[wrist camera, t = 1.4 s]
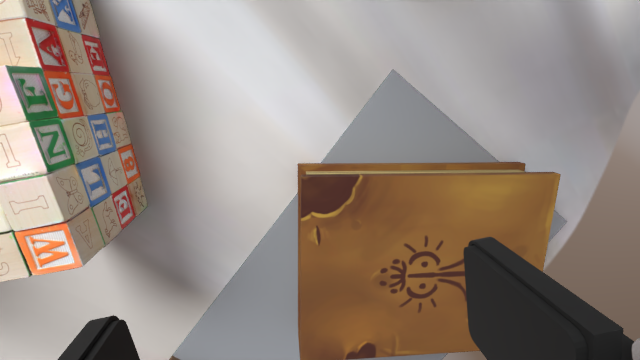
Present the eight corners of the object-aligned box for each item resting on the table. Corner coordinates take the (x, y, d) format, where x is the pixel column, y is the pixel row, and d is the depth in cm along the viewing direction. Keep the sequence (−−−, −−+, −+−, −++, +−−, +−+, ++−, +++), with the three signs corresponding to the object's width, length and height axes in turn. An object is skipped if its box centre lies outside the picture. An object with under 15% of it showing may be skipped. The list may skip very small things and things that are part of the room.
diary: (297, 330, 39) (300, 370, 33) (297, 163, 34) (300, 177, 29) (495, 319, 41) (528, 355, 36) (520, 162, 37) (562, 174, 31)
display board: (392, 69, 33) (401, 67, 31) (565, 220, 39) (585, 229, 37) (167, 361, 38) (158, 381, 36) (351, 455, 44) (356, 479, 42)
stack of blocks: (-3, -33, 28) (-211, -124, 16) (79, -43, 28) (-65, -138, 17) (83, 219, 34) (-25, 289, 22) (150, 207, 34) (81, 270, 22)
